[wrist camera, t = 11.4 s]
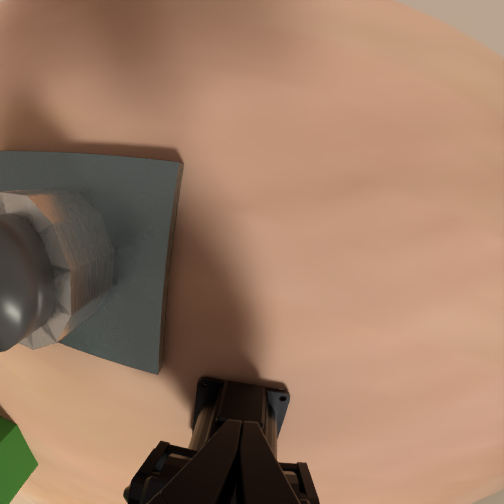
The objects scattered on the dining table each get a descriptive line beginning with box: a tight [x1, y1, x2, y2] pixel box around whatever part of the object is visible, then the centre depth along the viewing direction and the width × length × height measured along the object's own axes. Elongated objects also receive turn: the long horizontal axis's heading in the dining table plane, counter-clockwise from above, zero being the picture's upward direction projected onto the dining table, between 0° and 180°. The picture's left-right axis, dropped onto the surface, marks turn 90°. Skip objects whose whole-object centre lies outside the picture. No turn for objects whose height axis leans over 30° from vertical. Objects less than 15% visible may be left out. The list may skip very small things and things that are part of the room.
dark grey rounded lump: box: [0, 214, 55, 352], centre depth 14 cm, size 7×7×6 cm
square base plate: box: [0, 151, 184, 375], centre depth 17 cm, size 14×16×6 cm
